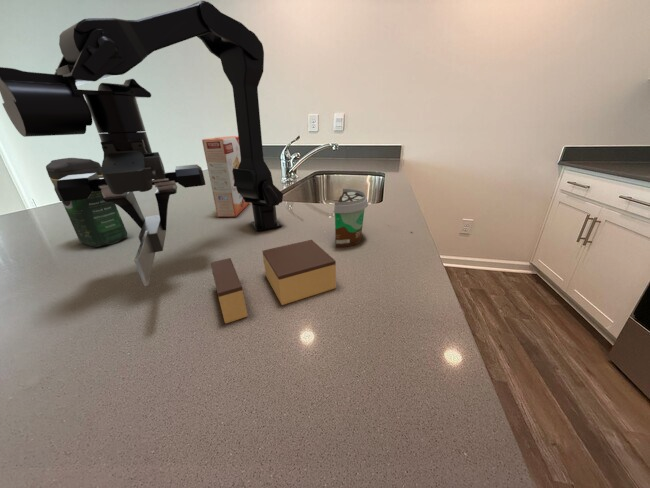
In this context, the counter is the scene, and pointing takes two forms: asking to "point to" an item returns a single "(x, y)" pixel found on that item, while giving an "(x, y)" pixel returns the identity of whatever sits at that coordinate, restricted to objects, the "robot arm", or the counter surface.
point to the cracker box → (224, 174)
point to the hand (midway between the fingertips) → (156, 231)
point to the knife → (149, 246)
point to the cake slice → (229, 290)
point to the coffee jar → (89, 205)
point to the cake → (299, 270)
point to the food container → (349, 217)
